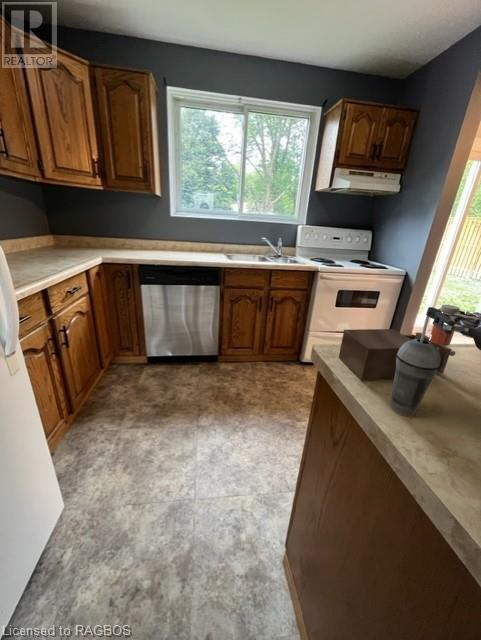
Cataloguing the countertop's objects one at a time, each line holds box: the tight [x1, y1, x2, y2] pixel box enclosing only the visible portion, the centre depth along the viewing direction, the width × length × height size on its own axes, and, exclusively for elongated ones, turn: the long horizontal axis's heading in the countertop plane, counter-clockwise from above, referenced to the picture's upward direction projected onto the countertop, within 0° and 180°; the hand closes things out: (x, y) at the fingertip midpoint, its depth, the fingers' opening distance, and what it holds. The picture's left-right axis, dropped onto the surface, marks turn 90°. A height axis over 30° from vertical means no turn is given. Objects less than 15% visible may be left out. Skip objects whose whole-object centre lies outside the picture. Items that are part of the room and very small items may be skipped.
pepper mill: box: [428, 304, 461, 347], centre depth 60 cm, size 4×4×8 cm
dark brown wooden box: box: [338, 328, 411, 382], centre depth 70 cm, size 15×12×9 cm
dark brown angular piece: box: [401, 332, 456, 374], centre depth 72 cm, size 18×10×7 cm, turn 98°
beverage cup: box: [389, 315, 441, 418], centre depth 52 cm, size 7×7×20 cm
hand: (437, 311), depth 62 cm, fingers closed on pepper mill, 4 cm apart
